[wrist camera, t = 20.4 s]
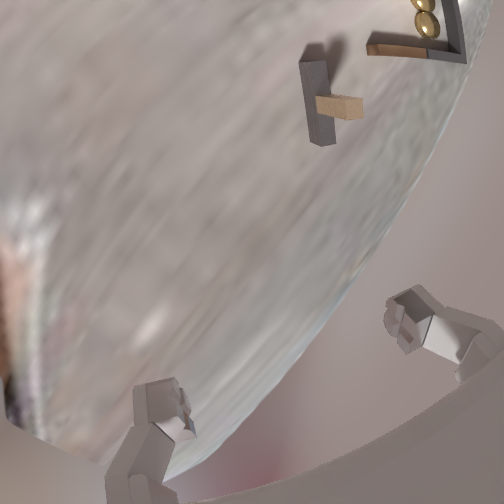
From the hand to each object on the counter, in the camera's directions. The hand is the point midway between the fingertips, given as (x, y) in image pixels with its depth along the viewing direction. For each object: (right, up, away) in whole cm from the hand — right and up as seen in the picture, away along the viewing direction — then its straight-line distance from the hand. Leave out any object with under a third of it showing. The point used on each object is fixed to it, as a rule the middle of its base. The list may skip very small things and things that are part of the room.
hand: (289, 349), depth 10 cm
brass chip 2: (+24, +37, +19) cm, 48 cm away
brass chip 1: (+23, +40, +17) cm, 49 cm away
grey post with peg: (+6, +21, +22) cm, 31 cm away
